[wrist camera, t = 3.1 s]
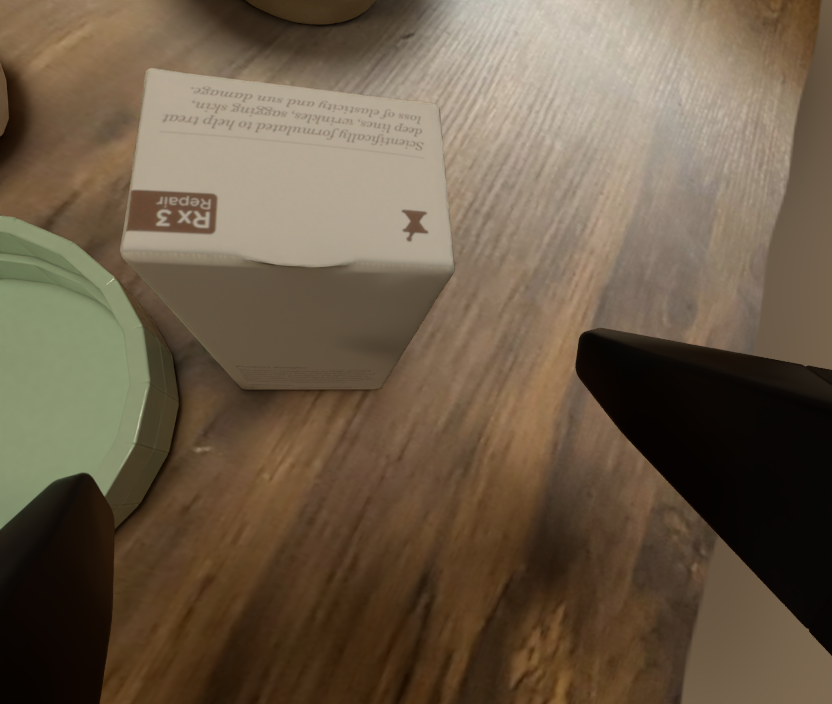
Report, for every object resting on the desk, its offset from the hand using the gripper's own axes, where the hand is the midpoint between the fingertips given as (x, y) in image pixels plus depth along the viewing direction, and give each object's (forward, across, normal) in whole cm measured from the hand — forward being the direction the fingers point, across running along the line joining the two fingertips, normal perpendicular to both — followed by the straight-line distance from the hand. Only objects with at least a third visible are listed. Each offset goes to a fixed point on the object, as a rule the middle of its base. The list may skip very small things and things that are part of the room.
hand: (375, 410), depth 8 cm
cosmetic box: (+12, 0, +5) cm, 13 cm away
